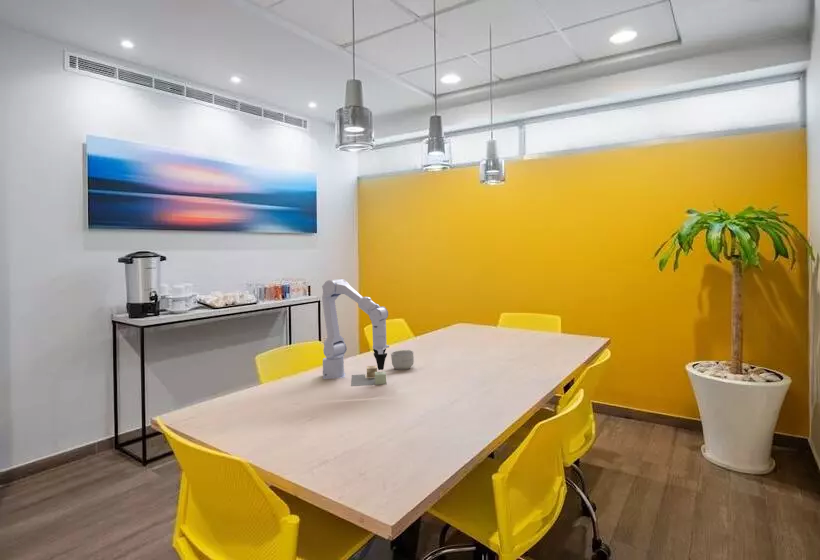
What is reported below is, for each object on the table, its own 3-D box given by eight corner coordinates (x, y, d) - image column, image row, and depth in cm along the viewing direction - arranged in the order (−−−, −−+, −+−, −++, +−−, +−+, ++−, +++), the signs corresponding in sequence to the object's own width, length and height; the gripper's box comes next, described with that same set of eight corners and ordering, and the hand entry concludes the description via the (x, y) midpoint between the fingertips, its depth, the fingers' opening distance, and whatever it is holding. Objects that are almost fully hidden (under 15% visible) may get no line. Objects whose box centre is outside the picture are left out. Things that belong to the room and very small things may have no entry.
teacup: (404, 372, 218) (404, 355, 217) (386, 369, 225) (386, 352, 224) (422, 366, 229) (421, 350, 229) (404, 363, 236) (404, 347, 235)
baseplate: (351, 387, 197) (351, 385, 197) (351, 376, 214) (351, 374, 214) (386, 385, 199) (386, 383, 199) (384, 374, 216) (384, 373, 216)
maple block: (367, 377, 209) (366, 368, 209) (366, 374, 214) (366, 366, 213) (377, 377, 210) (377, 368, 209) (376, 374, 214) (376, 365, 214)
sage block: (375, 384, 199) (375, 374, 199) (375, 381, 204) (374, 372, 203) (386, 383, 200) (386, 374, 199) (385, 380, 204) (385, 371, 204)
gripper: (390, 338, 193) (390, 371, 194) (387, 332, 208) (388, 362, 209) (372, 339, 193) (373, 372, 194) (371, 332, 207) (372, 363, 208)
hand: (380, 367), depth 201 cm, fingers open, 7 cm apart
